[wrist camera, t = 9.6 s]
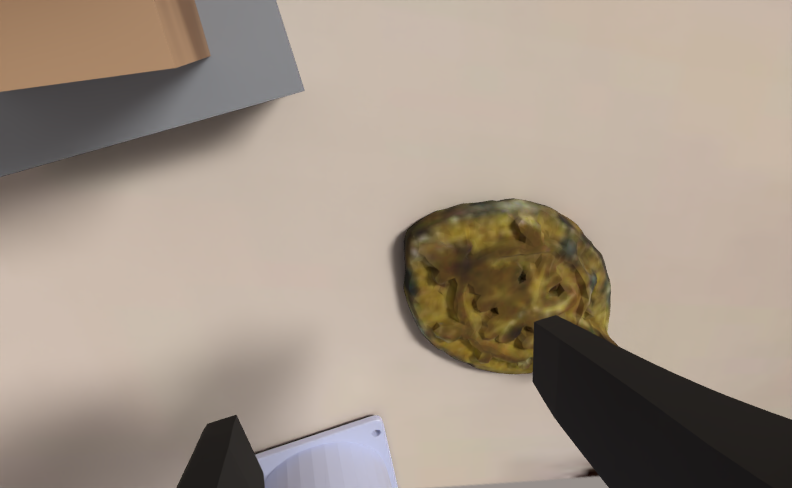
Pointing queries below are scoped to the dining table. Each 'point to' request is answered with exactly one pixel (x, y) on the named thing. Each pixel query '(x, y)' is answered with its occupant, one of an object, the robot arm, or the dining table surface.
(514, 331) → the seal
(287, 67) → the grey block
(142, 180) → the dining table surface
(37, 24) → the walnut cube
